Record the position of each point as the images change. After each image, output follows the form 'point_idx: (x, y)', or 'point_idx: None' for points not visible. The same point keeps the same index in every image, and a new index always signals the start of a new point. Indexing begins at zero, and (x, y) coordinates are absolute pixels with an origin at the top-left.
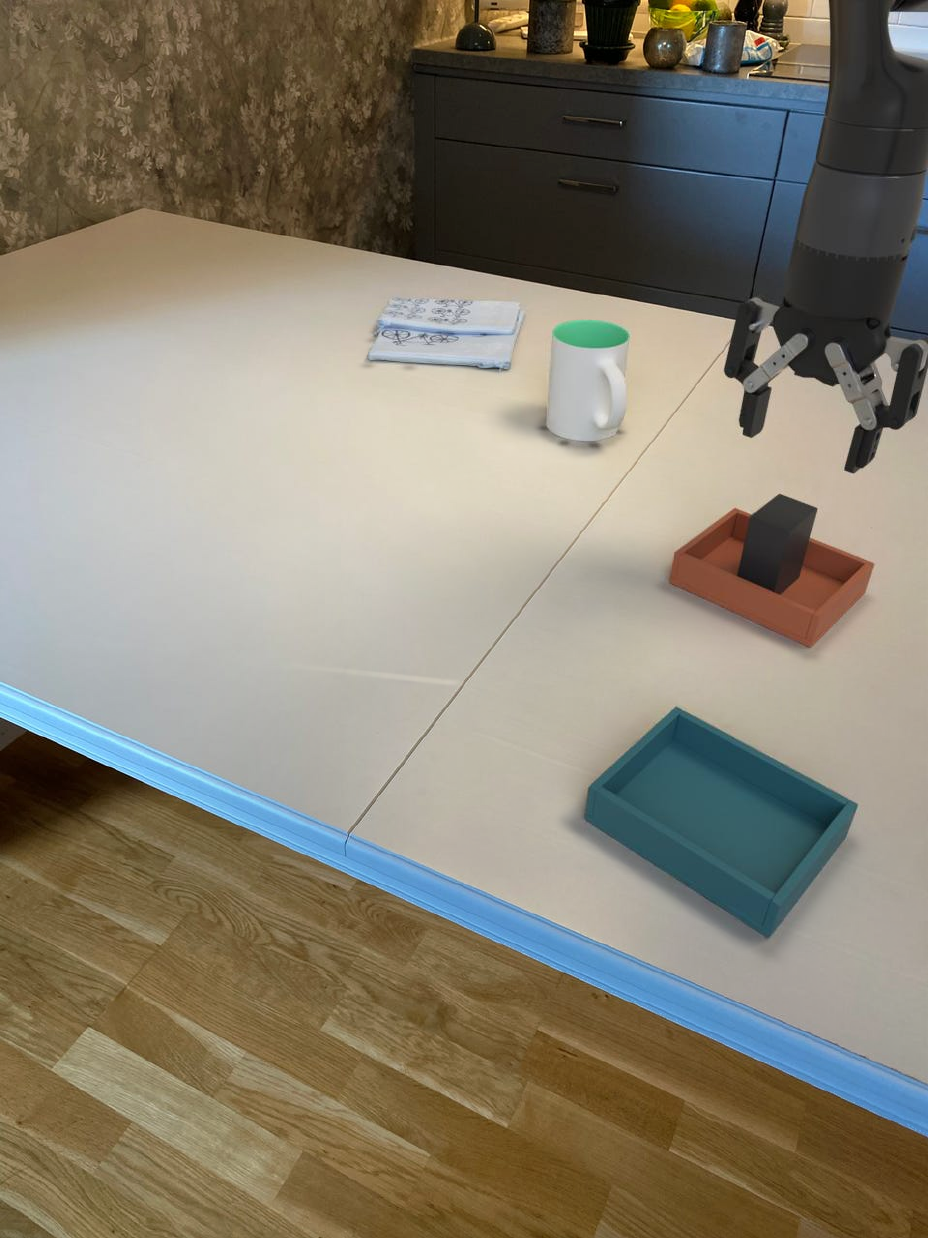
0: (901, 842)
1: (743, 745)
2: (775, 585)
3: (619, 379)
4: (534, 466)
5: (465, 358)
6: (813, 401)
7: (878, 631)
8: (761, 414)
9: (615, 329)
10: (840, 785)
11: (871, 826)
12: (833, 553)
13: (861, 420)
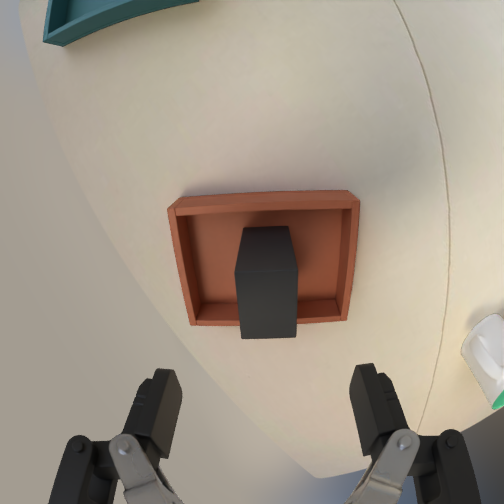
0: (42, 75)
1: (119, 2)
2: (241, 236)
3: (491, 370)
4: (500, 268)
5: None
6: (352, 442)
7: (157, 264)
8: (359, 408)
9: (498, 404)
10: (80, 75)
11: (56, 67)
12: (228, 318)
13: (136, 449)
